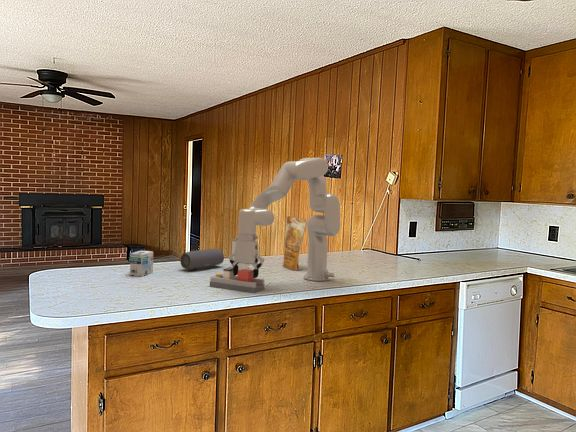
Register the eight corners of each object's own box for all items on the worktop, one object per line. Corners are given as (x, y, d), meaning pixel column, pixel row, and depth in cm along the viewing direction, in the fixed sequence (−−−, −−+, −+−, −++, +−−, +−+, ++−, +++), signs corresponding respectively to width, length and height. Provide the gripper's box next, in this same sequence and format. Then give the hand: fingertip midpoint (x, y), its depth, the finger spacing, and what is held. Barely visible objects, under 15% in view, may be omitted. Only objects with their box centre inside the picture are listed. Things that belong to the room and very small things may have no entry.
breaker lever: (235, 280, 204) (235, 267, 204) (229, 282, 199) (229, 269, 199) (229, 279, 206) (229, 266, 205) (223, 282, 200) (223, 268, 200)
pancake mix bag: (289, 264, 261) (291, 215, 259) (305, 271, 244) (307, 218, 242) (279, 265, 258) (281, 215, 256) (294, 271, 241) (296, 218, 239)
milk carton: (231, 269, 240) (232, 233, 239) (236, 267, 247) (238, 232, 246) (243, 270, 238) (244, 234, 237) (248, 268, 245) (250, 233, 243)
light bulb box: (142, 276, 214) (142, 254, 214) (129, 275, 216) (129, 253, 215) (153, 272, 225) (153, 251, 224) (140, 271, 226) (141, 250, 225)
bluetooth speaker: (212, 264, 252) (213, 246, 251) (224, 267, 246) (225, 249, 245) (179, 269, 234) (179, 250, 233) (190, 272, 228) (191, 253, 227)
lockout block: (253, 283, 201) (253, 270, 200) (247, 285, 196) (248, 271, 196) (243, 282, 203) (243, 268, 202) (237, 284, 198) (237, 270, 198)
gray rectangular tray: (264, 288, 201) (264, 276, 201) (254, 292, 192) (254, 280, 192) (221, 282, 210) (221, 270, 210) (209, 286, 201) (209, 274, 200)
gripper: (268, 238, 198) (267, 277, 199) (233, 235, 205) (232, 272, 206) (260, 240, 191) (259, 280, 192) (225, 236, 198) (223, 275, 199)
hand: (245, 276), depth 199 cm, fingers open, 9 cm apart
